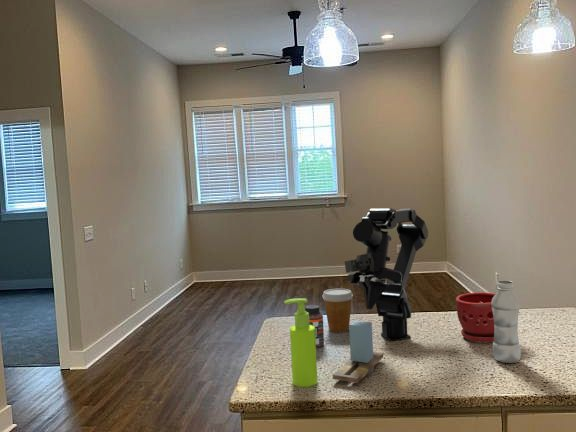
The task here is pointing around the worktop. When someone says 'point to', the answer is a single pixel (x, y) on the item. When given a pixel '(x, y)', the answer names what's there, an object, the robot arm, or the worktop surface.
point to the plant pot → (476, 316)
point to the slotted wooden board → (357, 369)
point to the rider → (361, 341)
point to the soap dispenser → (303, 347)
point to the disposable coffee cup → (338, 309)
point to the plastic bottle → (505, 323)
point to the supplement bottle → (316, 323)
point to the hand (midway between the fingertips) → (369, 309)
